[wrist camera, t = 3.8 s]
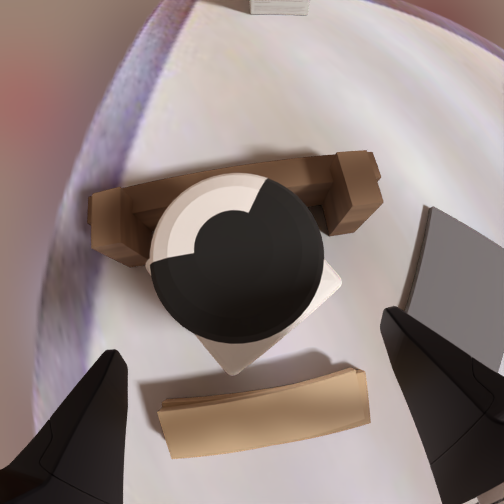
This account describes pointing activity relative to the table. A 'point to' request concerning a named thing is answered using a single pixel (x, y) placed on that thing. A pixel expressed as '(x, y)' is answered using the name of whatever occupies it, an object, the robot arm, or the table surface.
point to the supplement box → (279, 7)
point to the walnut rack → (282, 171)
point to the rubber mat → (461, 288)
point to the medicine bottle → (239, 265)
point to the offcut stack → (265, 415)
